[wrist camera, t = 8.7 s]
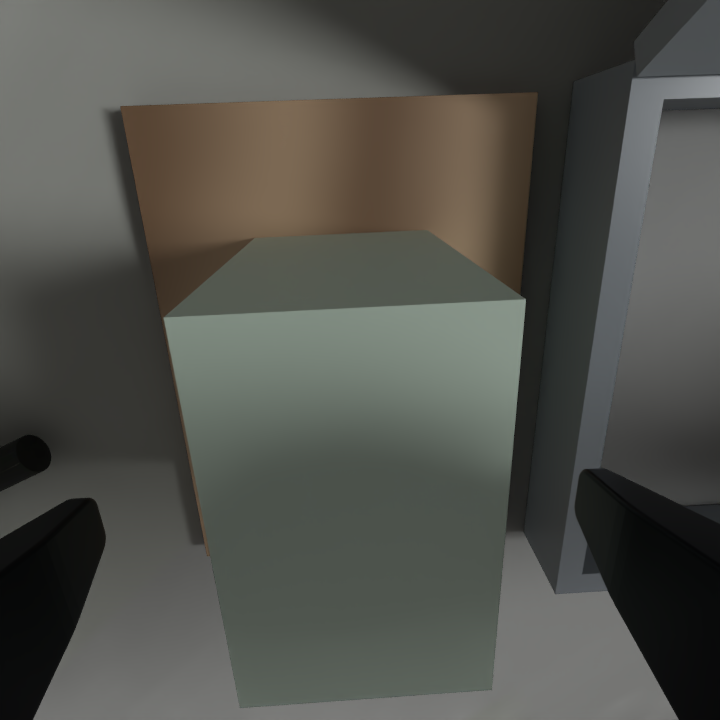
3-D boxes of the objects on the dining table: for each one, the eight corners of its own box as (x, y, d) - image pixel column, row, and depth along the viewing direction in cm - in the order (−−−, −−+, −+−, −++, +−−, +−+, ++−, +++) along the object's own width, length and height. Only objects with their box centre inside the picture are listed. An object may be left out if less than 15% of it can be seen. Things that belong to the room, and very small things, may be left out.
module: (427, 230, 14) (525, 299, 7) (424, 463, 17) (491, 690, 10) (254, 237, 14) (163, 317, 7) (282, 472, 17) (240, 708, 10)
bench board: (529, 95, 14) (538, 92, 13) (494, 528, 19) (498, 538, 19) (129, 108, 13) (120, 106, 13) (211, 544, 19) (207, 556, 18)
